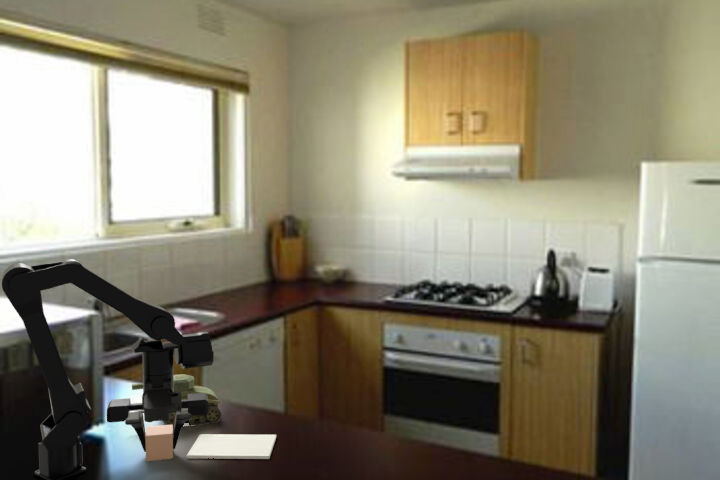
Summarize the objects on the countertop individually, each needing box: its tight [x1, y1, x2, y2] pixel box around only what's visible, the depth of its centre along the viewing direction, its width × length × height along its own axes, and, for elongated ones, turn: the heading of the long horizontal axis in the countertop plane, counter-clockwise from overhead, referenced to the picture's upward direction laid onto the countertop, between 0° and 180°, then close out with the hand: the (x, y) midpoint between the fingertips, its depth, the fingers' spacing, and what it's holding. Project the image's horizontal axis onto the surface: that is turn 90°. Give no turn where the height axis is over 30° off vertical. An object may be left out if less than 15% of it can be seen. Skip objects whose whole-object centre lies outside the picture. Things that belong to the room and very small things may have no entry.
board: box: [186, 433, 277, 460], centre depth 136 cm, size 16×11×1 cm
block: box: [145, 424, 174, 462], centre depth 132 cm, size 5×5×5 cm
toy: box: [131, 373, 222, 429], centre depth 151 cm, size 10×18×10 cm, turn 112°
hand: (159, 449), depth 132 cm, fingers closed on block, 5 cm apart
